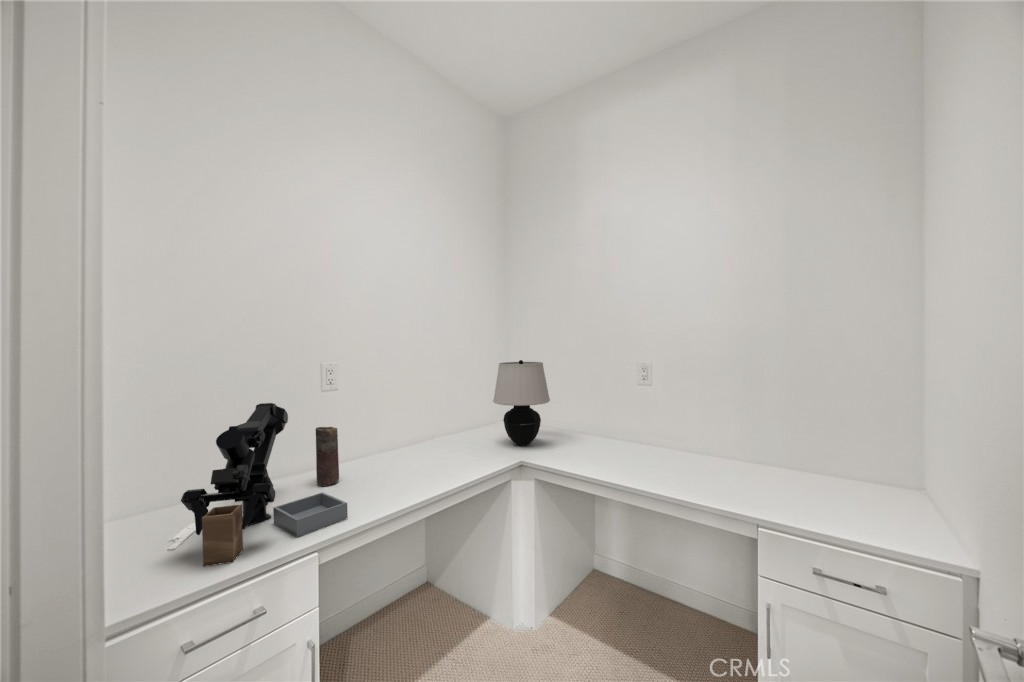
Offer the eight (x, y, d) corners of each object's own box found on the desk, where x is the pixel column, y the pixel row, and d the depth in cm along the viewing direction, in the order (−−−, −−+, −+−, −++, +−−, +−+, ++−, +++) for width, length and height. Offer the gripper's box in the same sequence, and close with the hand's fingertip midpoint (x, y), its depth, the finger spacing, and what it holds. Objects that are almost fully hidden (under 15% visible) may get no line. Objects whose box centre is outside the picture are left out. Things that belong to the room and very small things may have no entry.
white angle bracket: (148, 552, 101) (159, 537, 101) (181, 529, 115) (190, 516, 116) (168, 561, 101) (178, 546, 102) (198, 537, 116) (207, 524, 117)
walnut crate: (214, 553, 100) (213, 507, 100) (242, 549, 101) (241, 504, 101) (203, 566, 94) (201, 517, 94) (233, 562, 96) (232, 514, 96)
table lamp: (497, 437, 212) (496, 359, 212) (551, 437, 209) (549, 358, 209) (489, 451, 185) (487, 362, 185) (550, 452, 182) (548, 361, 182)
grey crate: (273, 523, 116) (273, 507, 116) (322, 507, 127) (322, 492, 127) (297, 537, 107) (296, 520, 107) (347, 518, 118) (347, 502, 118)
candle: (317, 481, 150) (315, 426, 150) (339, 478, 153) (337, 424, 153) (316, 488, 143) (315, 430, 143) (339, 484, 146) (338, 428, 146)
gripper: (183, 456, 99) (158, 522, 89) (271, 450, 104) (257, 511, 93) (200, 479, 107) (178, 542, 96) (280, 472, 112) (268, 531, 101)
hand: (220, 531), depth 97 cm, fingers open, 9 cm apart
